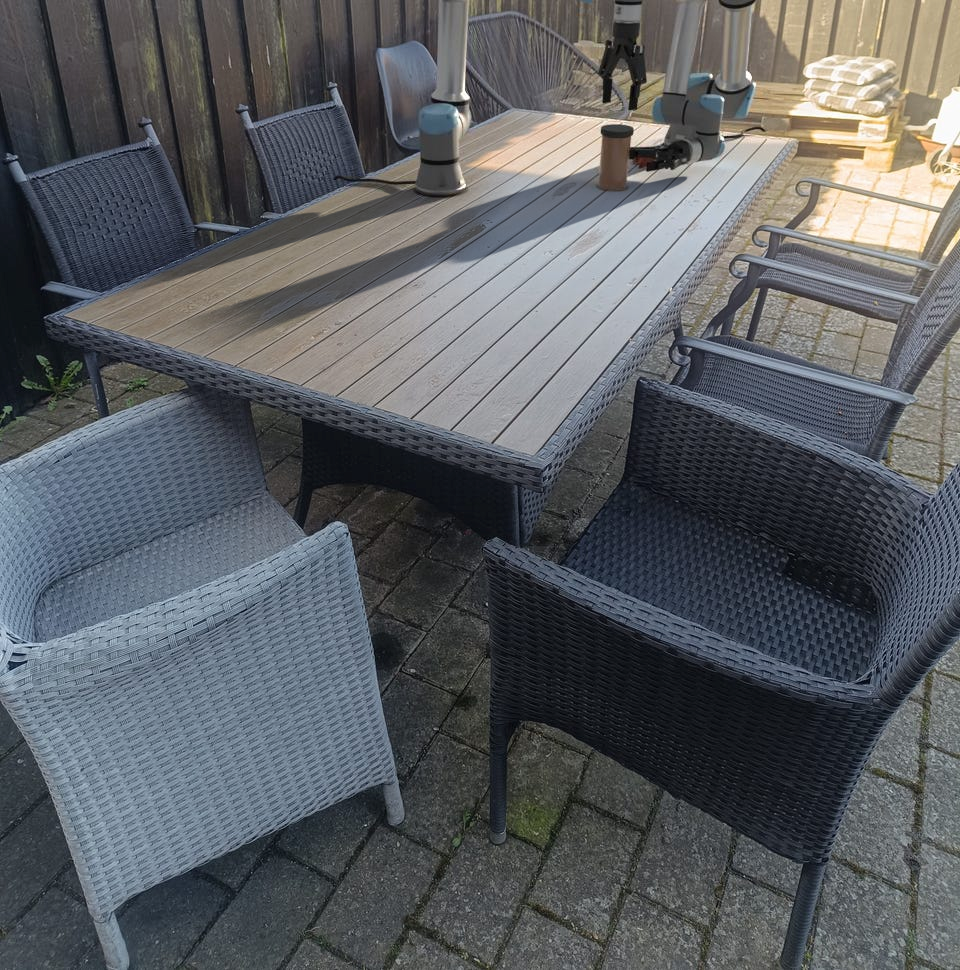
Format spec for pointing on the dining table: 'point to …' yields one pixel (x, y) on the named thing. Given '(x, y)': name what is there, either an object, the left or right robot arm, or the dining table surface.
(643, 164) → the red irregular lump
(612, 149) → the jar
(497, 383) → the dining table surface
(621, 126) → the lid
